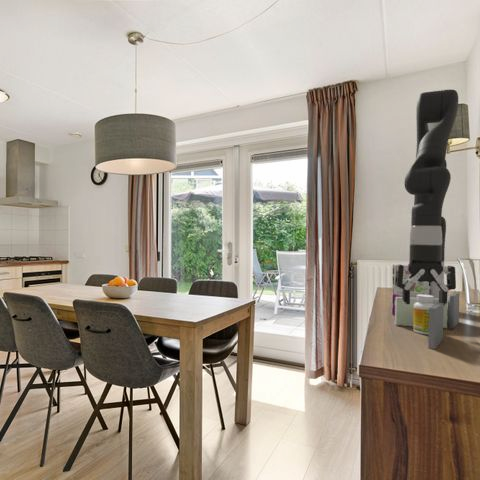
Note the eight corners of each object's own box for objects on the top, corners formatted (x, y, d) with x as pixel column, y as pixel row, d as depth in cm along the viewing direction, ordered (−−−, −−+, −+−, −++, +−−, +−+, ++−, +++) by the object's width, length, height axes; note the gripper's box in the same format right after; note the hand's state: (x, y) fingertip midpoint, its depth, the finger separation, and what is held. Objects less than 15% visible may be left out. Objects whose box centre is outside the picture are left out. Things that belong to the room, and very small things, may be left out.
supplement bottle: (424, 335, 89) (425, 297, 89) (408, 330, 94) (409, 294, 94) (441, 334, 91) (441, 296, 91) (424, 329, 96) (424, 293, 96)
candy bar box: (428, 315, 114) (429, 265, 114) (430, 318, 110) (431, 266, 110) (391, 312, 119) (392, 263, 119) (391, 315, 114) (392, 264, 114)
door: (444, 326, 98) (445, 299, 98) (446, 327, 97) (447, 299, 97) (394, 323, 100) (395, 296, 100) (396, 324, 99) (396, 297, 99)
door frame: (453, 321, 106) (454, 291, 106) (459, 322, 105) (460, 292, 105) (427, 347, 79) (428, 307, 79) (435, 349, 78) (436, 308, 78)
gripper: (448, 243, 95) (447, 303, 95) (393, 242, 98) (392, 300, 98) (461, 244, 88) (459, 308, 88) (401, 243, 90) (399, 306, 90)
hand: (424, 304), depth 93 cm, fingers open, 8 cm apart
